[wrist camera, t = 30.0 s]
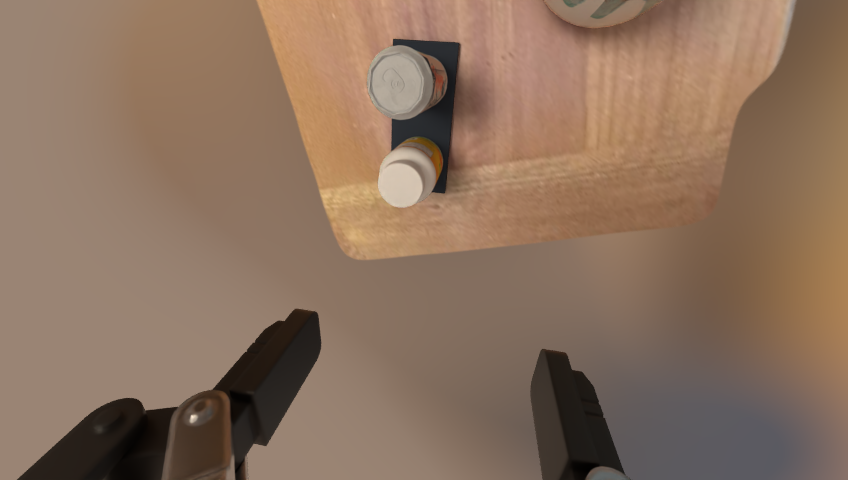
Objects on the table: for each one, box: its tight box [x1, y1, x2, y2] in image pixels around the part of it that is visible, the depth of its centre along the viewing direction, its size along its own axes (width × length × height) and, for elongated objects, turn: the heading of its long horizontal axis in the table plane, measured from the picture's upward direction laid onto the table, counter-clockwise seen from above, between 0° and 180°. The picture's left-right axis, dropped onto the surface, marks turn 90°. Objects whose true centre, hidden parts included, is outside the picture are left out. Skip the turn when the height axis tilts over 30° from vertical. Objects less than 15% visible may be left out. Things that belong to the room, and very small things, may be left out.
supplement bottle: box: [378, 137, 443, 208], centre depth 32 cm, size 5×5×10 cm
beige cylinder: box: [367, 45, 447, 120], centre depth 28 cm, size 5×5×12 cm
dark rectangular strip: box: [391, 39, 459, 193], centre depth 35 cm, size 15×6×1 cm, turn 176°
